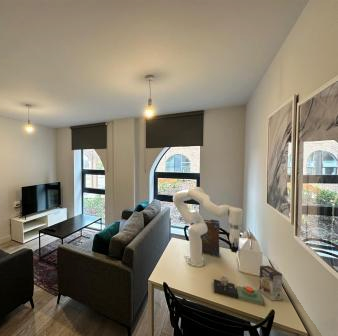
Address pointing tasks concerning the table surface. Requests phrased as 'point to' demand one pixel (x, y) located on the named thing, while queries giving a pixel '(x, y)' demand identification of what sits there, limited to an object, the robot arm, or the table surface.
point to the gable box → (249, 254)
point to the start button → (249, 289)
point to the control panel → (225, 289)
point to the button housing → (249, 295)
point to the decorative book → (211, 238)
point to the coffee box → (270, 282)
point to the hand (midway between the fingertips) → (233, 251)
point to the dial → (224, 282)
